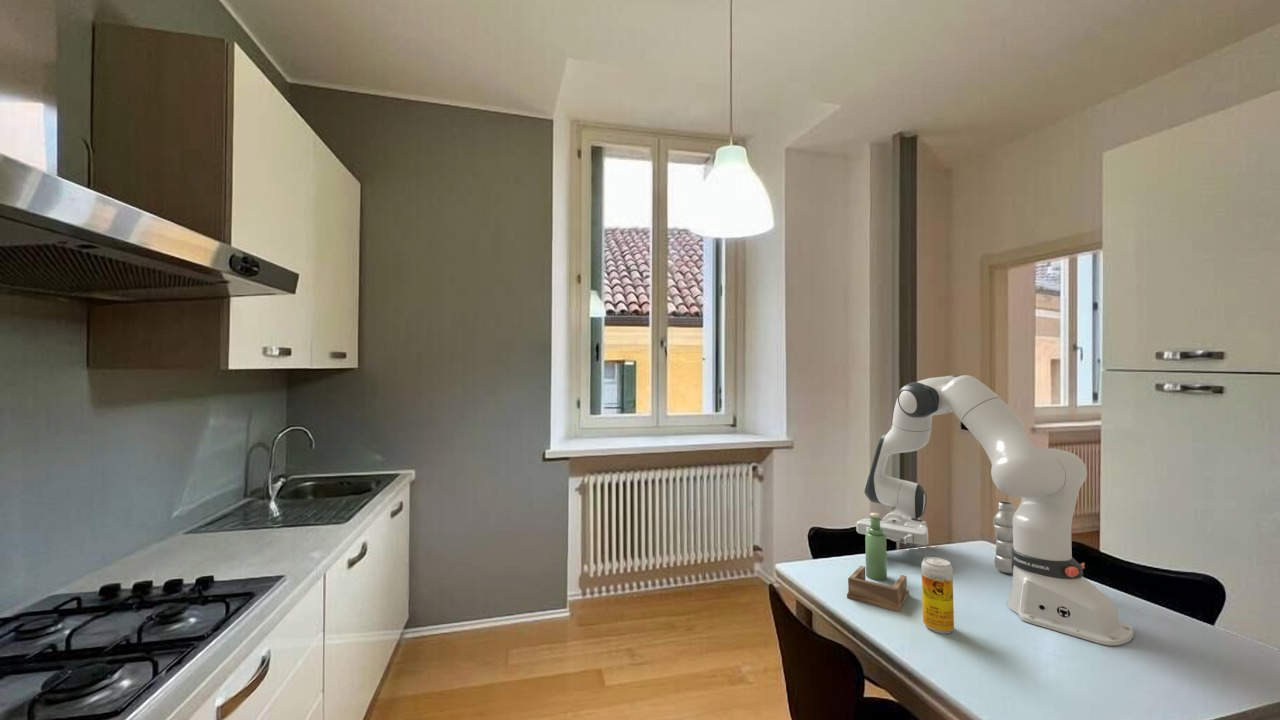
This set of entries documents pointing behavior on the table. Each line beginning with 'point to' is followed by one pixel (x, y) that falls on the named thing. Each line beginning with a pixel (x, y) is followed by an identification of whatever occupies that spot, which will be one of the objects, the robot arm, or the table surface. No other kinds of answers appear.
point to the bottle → (876, 550)
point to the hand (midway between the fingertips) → (885, 537)
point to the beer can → (937, 594)
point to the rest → (877, 591)
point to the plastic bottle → (1004, 536)
